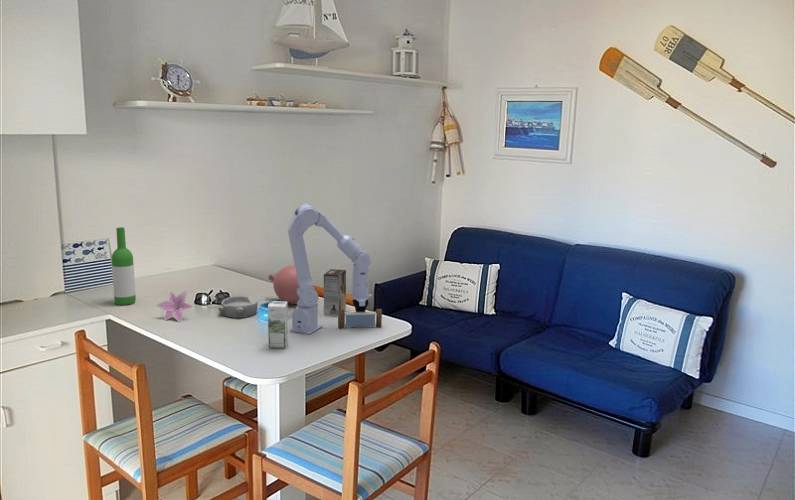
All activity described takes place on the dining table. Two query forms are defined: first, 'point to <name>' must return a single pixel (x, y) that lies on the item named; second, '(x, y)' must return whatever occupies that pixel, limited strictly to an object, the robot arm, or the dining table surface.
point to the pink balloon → (286, 284)
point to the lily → (175, 306)
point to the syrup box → (277, 324)
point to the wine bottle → (123, 271)
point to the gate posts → (342, 318)
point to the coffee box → (334, 291)
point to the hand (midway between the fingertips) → (360, 319)
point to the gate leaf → (360, 319)
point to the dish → (238, 307)
